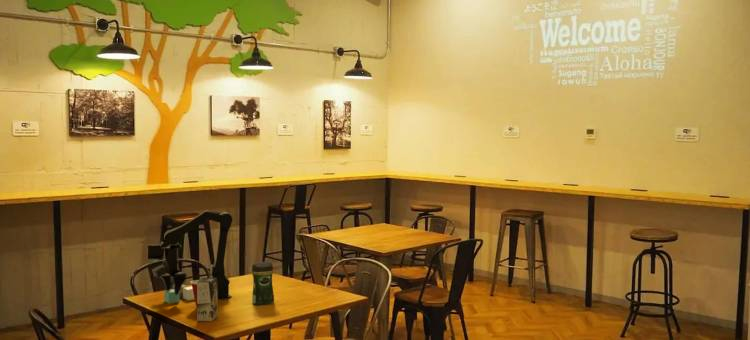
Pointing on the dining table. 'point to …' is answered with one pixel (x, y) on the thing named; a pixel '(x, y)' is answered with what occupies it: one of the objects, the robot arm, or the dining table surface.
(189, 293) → the cream block
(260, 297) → the coffee jar
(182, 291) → the walnut block
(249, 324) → the dining table surface
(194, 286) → the plastic cup
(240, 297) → the dining table surface
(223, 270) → the robot arm
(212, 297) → the coffee box
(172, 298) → the teal block
